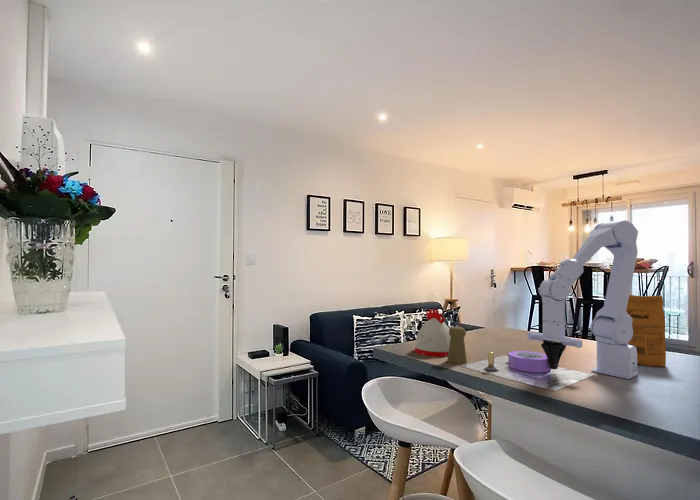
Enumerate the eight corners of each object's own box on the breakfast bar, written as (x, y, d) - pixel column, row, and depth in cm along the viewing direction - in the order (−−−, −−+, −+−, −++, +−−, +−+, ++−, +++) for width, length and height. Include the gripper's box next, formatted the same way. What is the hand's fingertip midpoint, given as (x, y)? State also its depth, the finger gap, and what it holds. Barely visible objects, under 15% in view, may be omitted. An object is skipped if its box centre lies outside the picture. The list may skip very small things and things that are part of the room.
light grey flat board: (594, 375, 111) (594, 374, 111) (554, 391, 97) (554, 390, 97) (503, 355, 134) (503, 355, 134) (459, 366, 119) (459, 365, 119)
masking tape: (500, 363, 122) (500, 351, 122) (532, 361, 125) (532, 349, 125) (525, 374, 111) (525, 360, 111) (560, 372, 114) (560, 358, 114)
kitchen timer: (434, 346, 147) (434, 306, 148) (464, 353, 136) (464, 310, 136) (407, 350, 139) (407, 308, 140) (435, 358, 128) (436, 312, 129)
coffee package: (615, 357, 134) (615, 292, 135) (661, 362, 128) (660, 294, 129) (619, 363, 125) (619, 294, 126) (668, 369, 120) (668, 296, 120)
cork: (451, 358, 129) (451, 324, 129) (469, 361, 125) (469, 326, 125) (444, 362, 124) (444, 327, 124) (463, 365, 120) (463, 329, 120)
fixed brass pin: (498, 370, 115) (498, 352, 115) (492, 371, 113) (492, 354, 113) (489, 367, 117) (489, 351, 117) (484, 369, 115) (484, 352, 115)
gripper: (522, 318, 116) (522, 365, 116) (574, 325, 105) (574, 376, 104) (534, 317, 121) (534, 361, 120) (585, 323, 109) (585, 372, 109)
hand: (553, 368), depth 112 cm, fingers closed
